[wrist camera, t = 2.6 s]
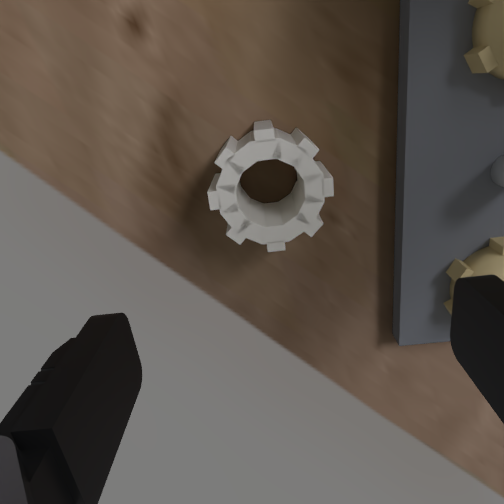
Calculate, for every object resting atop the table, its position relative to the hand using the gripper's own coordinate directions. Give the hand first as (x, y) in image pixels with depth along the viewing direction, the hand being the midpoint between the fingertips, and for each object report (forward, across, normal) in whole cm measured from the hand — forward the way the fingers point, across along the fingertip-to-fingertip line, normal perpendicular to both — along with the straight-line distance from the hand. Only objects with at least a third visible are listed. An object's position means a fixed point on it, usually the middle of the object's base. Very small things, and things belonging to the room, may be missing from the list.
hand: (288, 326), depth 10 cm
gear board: (+16, -14, +1) cm, 22 cm away
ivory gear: (+17, 0, 0) cm, 17 cm away
